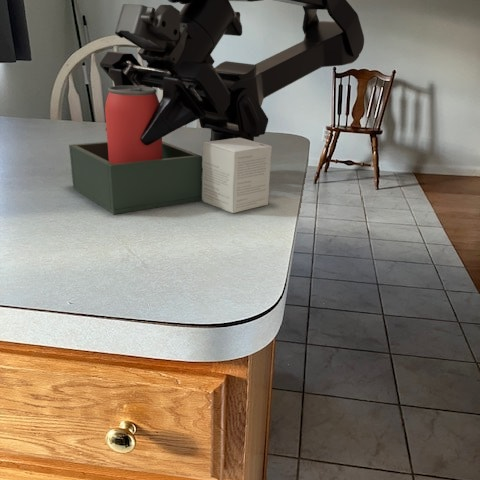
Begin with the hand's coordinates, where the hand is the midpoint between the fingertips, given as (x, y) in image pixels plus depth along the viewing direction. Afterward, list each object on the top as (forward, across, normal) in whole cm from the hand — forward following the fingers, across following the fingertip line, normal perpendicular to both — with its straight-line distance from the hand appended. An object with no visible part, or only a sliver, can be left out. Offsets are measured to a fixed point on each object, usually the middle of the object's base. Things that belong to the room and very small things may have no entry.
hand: (125, 137), depth 65 cm
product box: (-1, +10, +11) cm, 15 cm away
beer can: (+4, 0, +6) cm, 7 cm away
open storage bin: (+4, 0, +6) cm, 7 cm away
